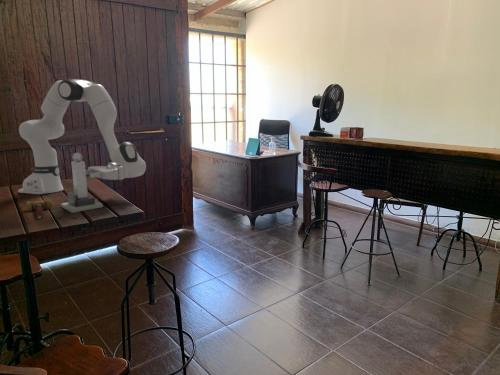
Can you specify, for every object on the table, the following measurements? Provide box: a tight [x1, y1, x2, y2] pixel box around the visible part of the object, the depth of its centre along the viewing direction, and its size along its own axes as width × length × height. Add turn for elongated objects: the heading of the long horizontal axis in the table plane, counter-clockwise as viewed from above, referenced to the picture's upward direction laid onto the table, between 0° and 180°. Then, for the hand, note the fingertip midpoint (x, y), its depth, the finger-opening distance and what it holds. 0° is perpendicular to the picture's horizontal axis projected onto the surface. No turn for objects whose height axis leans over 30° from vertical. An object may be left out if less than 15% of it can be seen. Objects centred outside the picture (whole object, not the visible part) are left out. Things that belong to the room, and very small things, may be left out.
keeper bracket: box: [60, 191, 104, 214], centre depth 180 cm, size 14×14×7 cm
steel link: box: [71, 152, 89, 200], centre depth 178 cm, size 4×4×24 cm
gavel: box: [25, 198, 53, 220], centre depth 169 cm, size 21×5×10 cm
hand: (86, 174), depth 179 cm, fingers open, 8 cm apart
